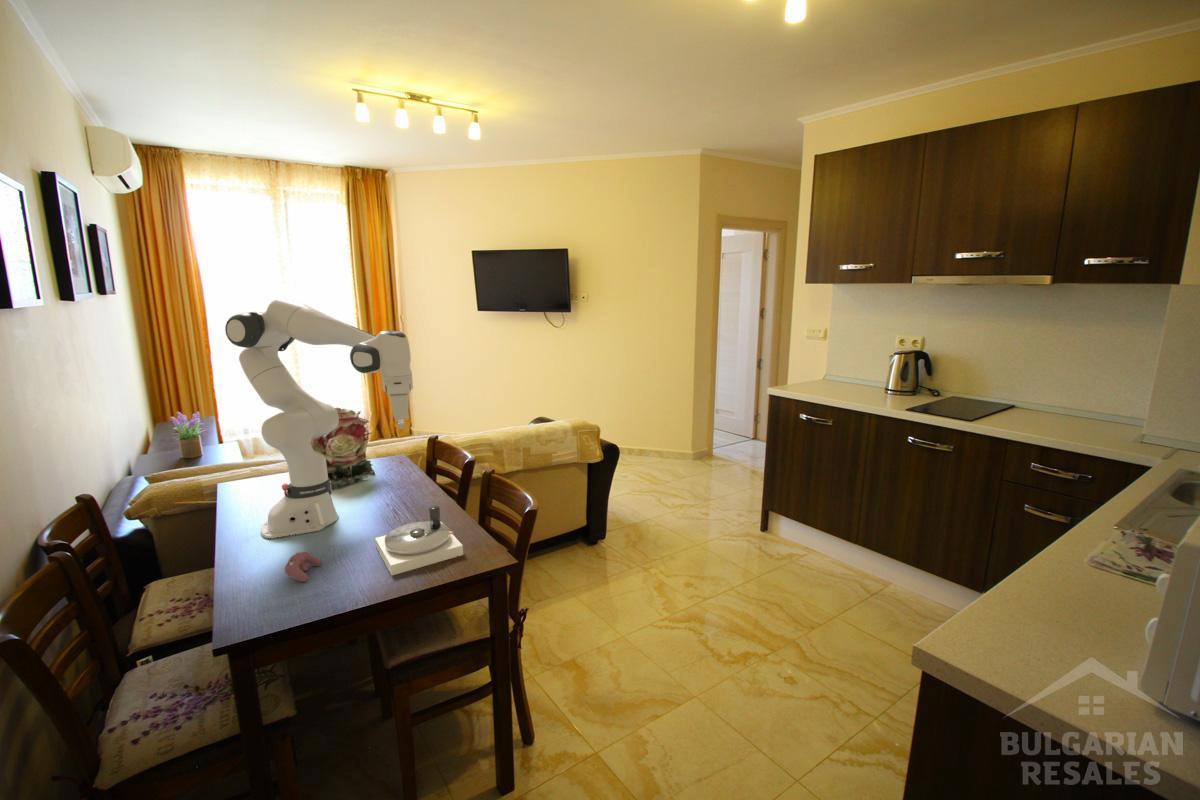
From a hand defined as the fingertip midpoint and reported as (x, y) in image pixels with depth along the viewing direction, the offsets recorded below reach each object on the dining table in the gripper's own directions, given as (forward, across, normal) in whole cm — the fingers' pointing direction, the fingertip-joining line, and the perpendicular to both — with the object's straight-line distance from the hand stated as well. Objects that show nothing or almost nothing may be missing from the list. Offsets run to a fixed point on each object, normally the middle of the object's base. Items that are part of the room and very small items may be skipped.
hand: (401, 427), depth 166 cm
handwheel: (+31, +17, +2) cm, 35 cm away
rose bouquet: (+34, -62, -23) cm, 74 cm away
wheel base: (+34, +17, +2) cm, 38 cm away
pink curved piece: (+34, +18, -28) cm, 48 cm away
